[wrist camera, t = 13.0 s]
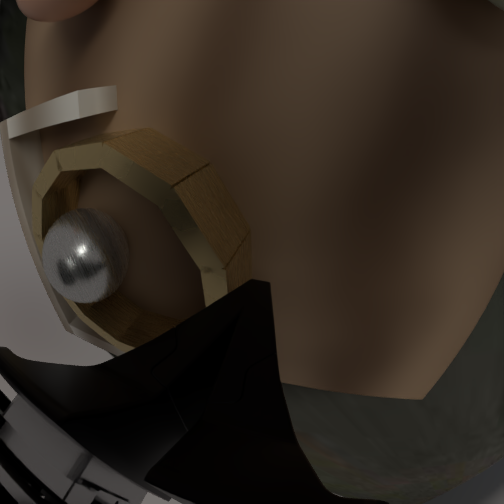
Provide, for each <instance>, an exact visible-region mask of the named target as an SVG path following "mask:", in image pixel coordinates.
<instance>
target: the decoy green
mask: <svg viewBox="0 0 504 504" xmlns="http://www.w3.org/2000/svg"><path fill="white" fill-rule="evenodd" d="M488 1H490V2H491V3H492V4H494V5H495V6H497V7H498V8H500V9H501V10H503V11H504V0H488Z"/></svg>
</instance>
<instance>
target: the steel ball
mask: <svg viewBox="0 0 504 504" xmlns="http://www.w3.org/2000/svg"><path fill="white" fill-rule="evenodd" d="M129 257H130V253H129V245H128V241H127V238H126V236H125V233H124V231H123V230H122V228H121V227H120V225H119V224H118V223H117V222H116V221H115V220H114V219H113V218H112V217H111V216H109V215H108V214H106V213H104V212H102V211H100V210H97V209H93V208H78V209H75V210H71V211H69V212H67V213H65V214H64V215H62V216H61V217H60V218H58V219H57V220H56V221H55V222H54V223H53V225H52V226H51V227H50V229H49V231H48V233H47V235H46V237H45V240H44V244H43V249H42V262H43V268H44V271H45V274H46V276H47V278H48V280H49V282H50V284H51V285H52V286H53V288H54V289H55V290H56V291H57V292H58V293H59V294H61V295H62V296H63V297H65V298H67V299H69V300H71V301H74V302H78V303H93V302H98V301H101V300H103V299H105V298H107V297H108V296H110V295H111V294H113V293H114V292H115V291H116V290H117V289H118V287H119V286H120V285H121V283H122V282H123V280H124V278H125V276H126V273H127V270H128V266H129Z"/></svg>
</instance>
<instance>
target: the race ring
mask: <svg viewBox="0 0 504 504" xmlns="http://www.w3.org/2000/svg"><path fill="white" fill-rule="evenodd" d="M209 164H210V161H208V160H207V159H205V158H203V157H202V156H200V155H198V154H196V153H195V152H193V151H191V150H190V149H188V148H186V147H185V146H183V145H181V144H179V143H178V142H176V141H174V140H172V139H171V138H169V137H167V136H165V135H164V134H162V133H160V132H158V131H157V130H155V129H153V128H150V127H148V128H139V129H131V130H123V131H116V132H109V133H103V134H99V135H96V136H93V137H90V138H87V139H84V140H81V141H78V142H75V143H72V144H70V145H67V146H64V147H62V148H59V149H56V150H55V151H53V153H52V154H51V156H50V157H49V159H48V160H47V162H46V164H45V165H44V167H43V169H42V170H41V172H40V174H39V176H38V177H37V179H36V181H35V183H34V184H33V187H32V227H33V235H34V238H35V241H36V244H37V246H38V249H39V252H40V255H41V257H42V249H43V244H44V240H45V237H46V235H47V233H48V231H49V229H50V227H51V226H52V225H53V223H54V222H55V221H56V220H57V219H58V218H60V217H61V216H62V215H64V214H65V213H67V212H69V211H71V210H75V209H78V201H79V194H80V187H81V181H82V178H83V176H84V175H85V174H86V173H87V172H88V171H89V170H90V169H96V168H102V169H104V170H105V171H107V172H108V173H110V174H111V175H113V176H114V177H116V178H117V179H119V180H120V181H122V182H123V183H125V184H126V185H128V186H129V187H131V188H132V189H133V190H135V191H136V192H138V193H139V194H141V195H142V196H144V197H145V198H147V199H148V200H150V201H151V202H153V203H154V204H156V205H157V206H158V207H159V209H160V210H161V212H162V213H163V215H164V217H165V218H166V220H167V221H168V223H169V224H170V226H171V227H172V229H173V230H174V232H175V233H176V235H177V236H178V238H179V239H180V241H181V242H182V244H183V245H184V247H185V248H186V250H187V251H188V253H189V254H190V256H191V257H192V259H193V260H194V262H195V263H196V265H197V266H198V267H199V269H200V270H201V277H202V284H203V291H204V298H205V304H206V307H207V306H209V305H210V304H212V303H213V302H215V301H217V300H218V299H220V298H221V297H223V296H225V295H226V294H228V293H229V292H231V291H233V290H234V289H236V288H237V287H239V286H240V285H242V284H244V283H245V282H247V281H248V280H250V279H252V245H251V230H250V226H249V224H248V223H247V221H246V219H245V218H244V216H243V214H242V213H241V211H240V209H239V208H238V206H237V204H236V203H235V201H234V199H233V198H232V196H231V194H230V193H229V191H228V189H227V188H226V186H225V184H224V183H223V181H222V179H221V178H220V176H219V174H218V173H217V171H216V169H215V168H214V166H213V164H210V165H209ZM64 299H65V300H66V301H67V303H68V304H69V305H70V307H71V308H72V309H73V310H74V312H75V313H76V314H77V316H78V317H79V318H80V319H81V320H82V321H83V322H84V323H85V324H87V325H88V326H89V327H90V328H92V329H93V330H94V331H95V332H97V333H98V334H99V335H100V336H102V337H103V338H104V339H106V340H107V341H108V342H109V343H111V344H112V345H113V346H115V347H116V348H118V349H119V350H121V351H123V352H125V353H126V352H128V351H130V350H132V349H134V348H137V347H139V346H141V345H143V344H145V343H147V342H149V341H151V340H153V339H154V338H156V337H158V336H160V335H161V334H163V333H165V332H166V331H168V330H170V329H171V328H173V327H175V326H176V325H178V324H180V323H181V322H183V321H185V320H186V319H188V318H189V317H188V318H183V319H175V318H171V317H168V316H164V315H161V314H157V313H154V312H150V311H147V310H143V309H142V308H140V307H139V306H138V305H136V304H135V303H134V302H132V301H131V300H129V299H128V298H127V297H125V296H124V295H123V294H121V293H120V292H119V291H117V290H116V291H115V292H114V293H113V294H111V295H110V296H108V297H107V298H105V299H103V300H101V301H98V302H93V303H78V302H74V301H71V300H69V299H67V298H65V297H64Z"/></svg>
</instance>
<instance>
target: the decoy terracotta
mask: <svg viewBox="0 0 504 504" xmlns="http://www.w3.org/2000/svg"><path fill="white" fill-rule="evenodd" d="M16 1H17V5H18V7H19V9H20V10H21V12H22V13H23V14H24V15H25V16H27V17H28V18H30V19H32V20H35V21H38V22H48V23H50V22H58V21H63V20H66V19H69V18H72V17H74V16H76V15H79V14H81V13H82V12H84V11H86V10H87V9H89V8H90V7H91V6H93V5H94V4H95V3H96V2H97V1H98V0H16Z"/></svg>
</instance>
